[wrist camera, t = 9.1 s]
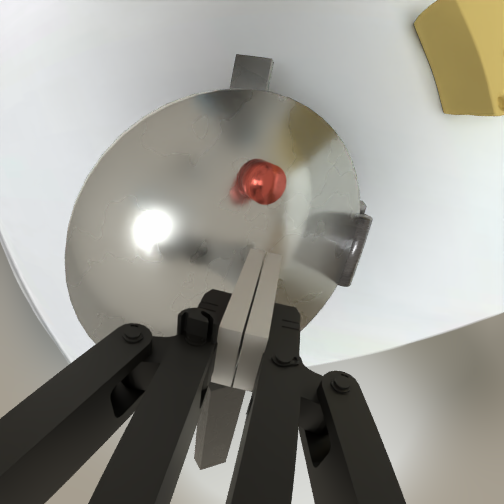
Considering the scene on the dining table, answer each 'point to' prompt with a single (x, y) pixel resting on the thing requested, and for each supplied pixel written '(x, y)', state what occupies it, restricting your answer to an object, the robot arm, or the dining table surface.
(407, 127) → the dining table surface
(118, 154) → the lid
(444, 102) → the cheese
